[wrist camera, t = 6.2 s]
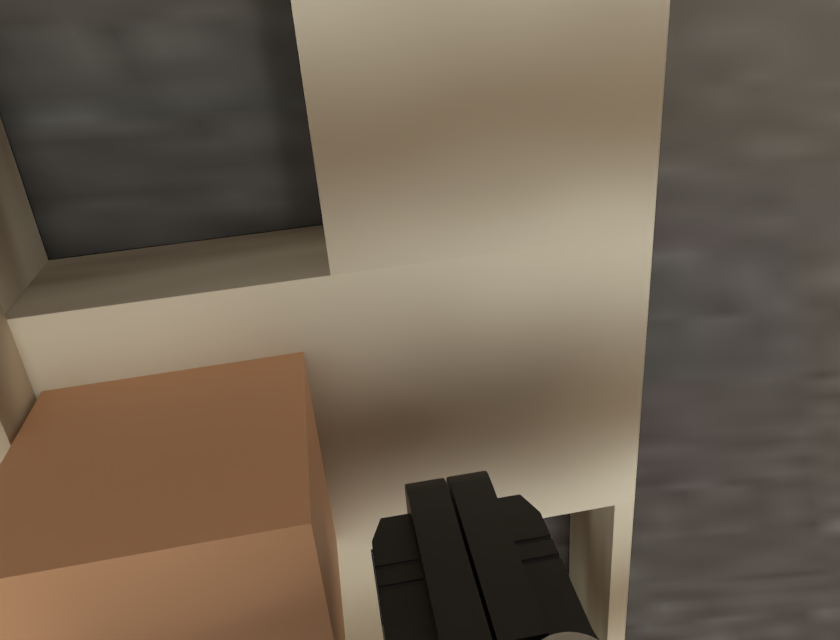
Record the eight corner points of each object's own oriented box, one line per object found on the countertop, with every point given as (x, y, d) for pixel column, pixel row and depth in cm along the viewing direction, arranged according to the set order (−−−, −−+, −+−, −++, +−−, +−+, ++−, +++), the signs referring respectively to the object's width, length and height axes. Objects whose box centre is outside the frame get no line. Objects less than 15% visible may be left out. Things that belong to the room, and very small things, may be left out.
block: (41, 391, 14) (-73, 591, 10) (302, 351, 14) (310, 523, 10) (113, 580, 16) (47, 813, 12) (337, 540, 17) (355, 748, 12)
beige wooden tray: (-131, -179, 12) (-333, -247, 8) (610, -225, 14) (744, -301, 10) (207, 786, 24) (192, 947, 20) (579, 708, 26) (633, 843, 22)
